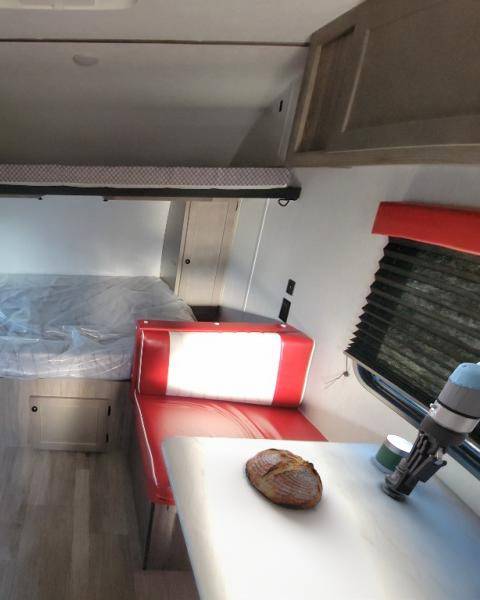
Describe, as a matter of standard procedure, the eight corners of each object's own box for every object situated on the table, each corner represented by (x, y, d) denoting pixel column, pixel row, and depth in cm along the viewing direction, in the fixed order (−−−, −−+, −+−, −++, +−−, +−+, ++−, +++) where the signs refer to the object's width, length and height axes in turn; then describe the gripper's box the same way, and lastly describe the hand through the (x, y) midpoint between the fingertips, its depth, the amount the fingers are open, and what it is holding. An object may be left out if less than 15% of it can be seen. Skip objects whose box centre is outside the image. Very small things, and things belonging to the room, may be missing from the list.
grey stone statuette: (389, 497, 91) (408, 460, 88) (374, 481, 96) (391, 446, 94) (412, 504, 90) (432, 467, 87) (396, 488, 96) (414, 452, 93)
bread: (333, 511, 87) (351, 486, 83) (268, 517, 83) (283, 492, 79) (288, 457, 102) (302, 433, 97) (231, 460, 98) (243, 436, 93)
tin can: (407, 477, 100) (424, 452, 96) (389, 479, 98) (406, 454, 94) (383, 458, 106) (398, 433, 102) (366, 459, 104) (380, 435, 101)
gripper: (420, 402, 88) (380, 468, 96) (434, 429, 77) (387, 500, 86) (459, 416, 84) (413, 483, 93) (480, 446, 74) (426, 518, 83)
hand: (401, 491), depth 89 cm, fingers closed
